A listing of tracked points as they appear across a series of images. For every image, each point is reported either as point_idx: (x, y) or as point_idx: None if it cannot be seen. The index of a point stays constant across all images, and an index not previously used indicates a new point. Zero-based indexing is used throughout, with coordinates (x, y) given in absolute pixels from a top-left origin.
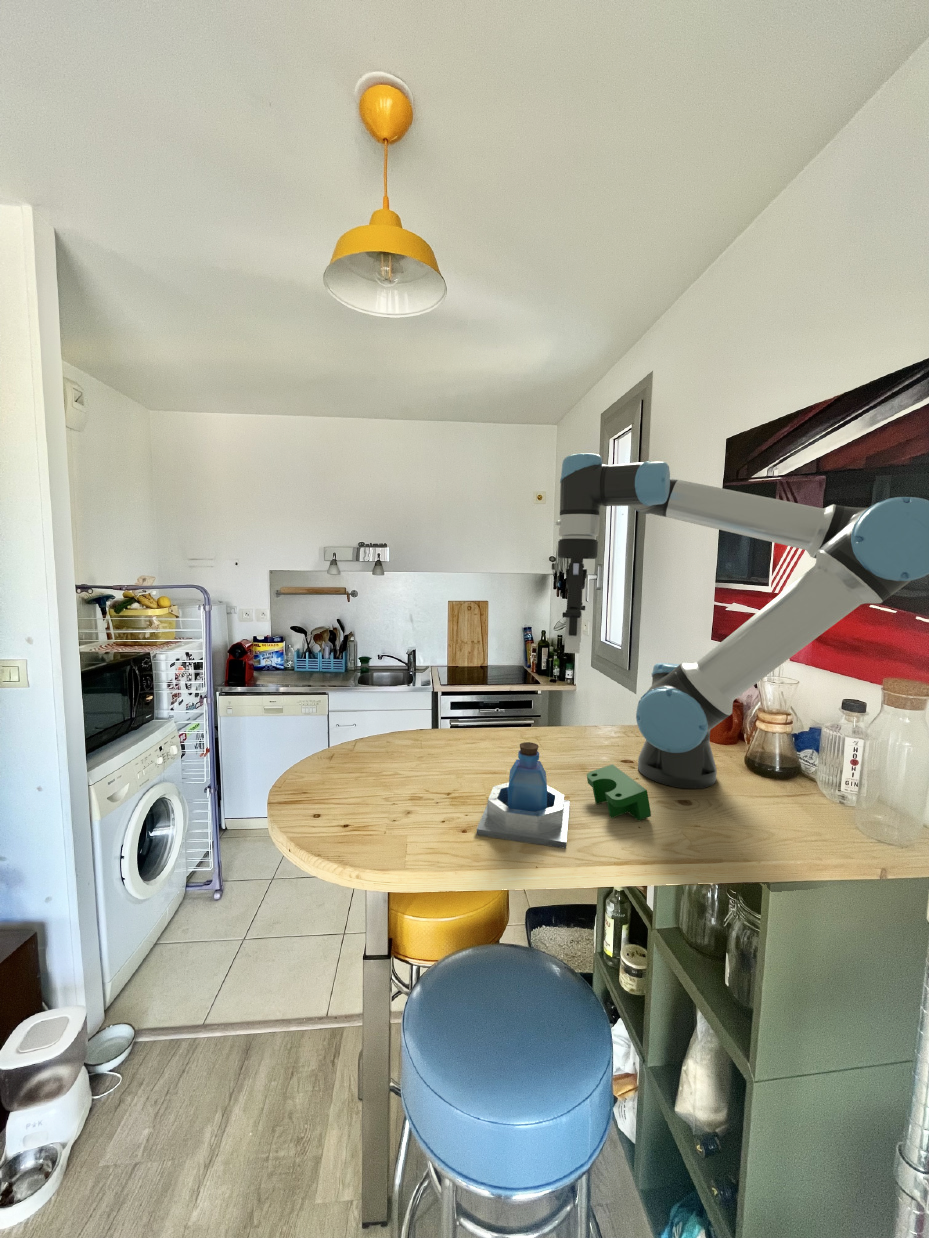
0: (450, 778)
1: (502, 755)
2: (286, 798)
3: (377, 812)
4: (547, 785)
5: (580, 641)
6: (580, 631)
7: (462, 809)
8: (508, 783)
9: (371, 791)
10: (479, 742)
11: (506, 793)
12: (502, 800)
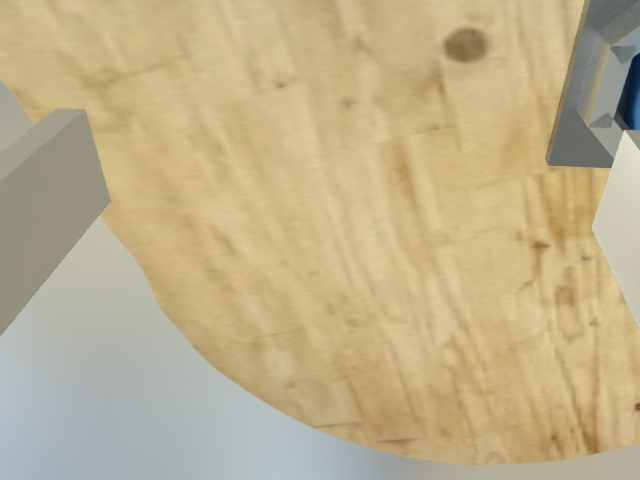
0: (456, 254)
1: (280, 164)
2: (578, 450)
3: (630, 338)
4: (623, 38)
5: (83, 113)
6: (38, 155)
7: None
8: (609, 144)
9: (540, 363)
10: (213, 226)
11: None
12: None
